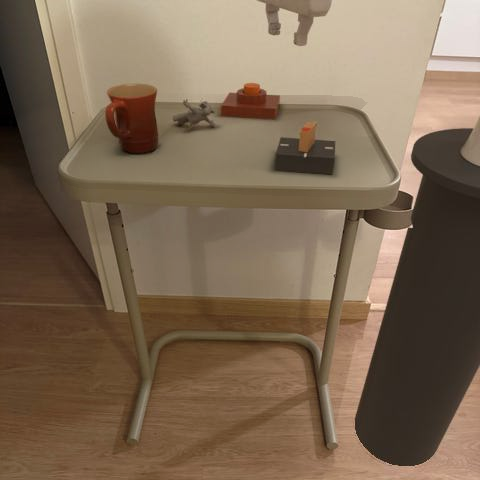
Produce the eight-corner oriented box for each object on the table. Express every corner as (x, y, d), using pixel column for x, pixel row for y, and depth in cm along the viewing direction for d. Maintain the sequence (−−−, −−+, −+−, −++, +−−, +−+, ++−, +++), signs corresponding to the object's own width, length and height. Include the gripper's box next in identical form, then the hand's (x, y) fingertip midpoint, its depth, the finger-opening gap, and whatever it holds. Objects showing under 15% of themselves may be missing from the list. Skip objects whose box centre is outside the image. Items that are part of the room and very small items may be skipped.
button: (260, 91, 105) (260, 83, 104) (258, 96, 102) (258, 87, 101) (244, 90, 105) (245, 82, 104) (242, 95, 103) (242, 86, 101)
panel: (333, 155, 86) (335, 138, 84) (332, 176, 80) (335, 158, 78) (279, 152, 88) (281, 135, 86) (274, 171, 81) (275, 154, 79)
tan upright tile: (305, 141, 84) (308, 119, 81) (314, 142, 83) (317, 121, 81) (298, 151, 80) (300, 129, 78) (307, 152, 80) (309, 130, 77)
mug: (134, 136, 93) (126, 81, 86) (171, 144, 90) (166, 87, 83) (96, 158, 85) (84, 98, 78) (136, 166, 82) (127, 105, 75)
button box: (279, 105, 109) (280, 86, 106) (274, 119, 102) (275, 99, 99) (229, 102, 111) (229, 84, 108) (221, 115, 103) (220, 96, 100)
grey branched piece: (194, 118, 102) (226, 110, 96) (190, 145, 101) (222, 137, 96) (161, 94, 94) (194, 84, 88) (157, 123, 93) (190, 113, 88)
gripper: (246, -66, 78) (245, 30, 87) (308, -60, 64) (299, 53, 73) (280, -66, 80) (275, 28, 89) (347, -60, 66) (333, 50, 75)
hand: (286, 39), depth 81 cm, fingers open, 8 cm apart
